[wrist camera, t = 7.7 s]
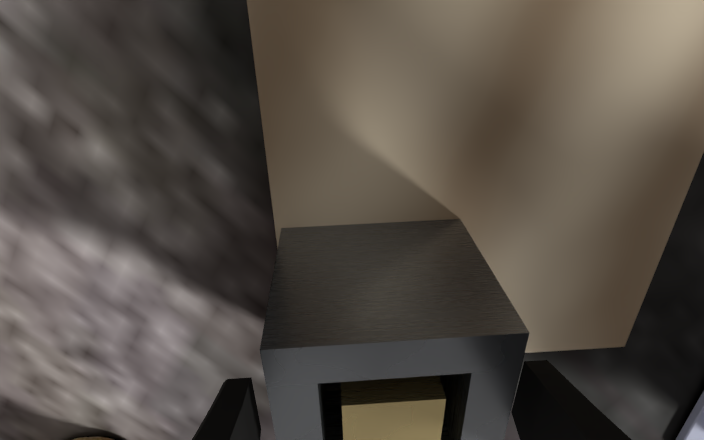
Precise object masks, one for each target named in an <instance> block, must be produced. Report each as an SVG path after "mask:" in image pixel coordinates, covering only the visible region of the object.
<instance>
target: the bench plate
mask: <svg viewBox="0 0 704 440" xmlns="http://www.w3.org/2000/svg"><path fill="white" fill-rule="evenodd" d="M247 7H248V15H249V23H250V31H251V39H252V47H253V55H254V63H255V71H256V79H257V87H258V95H259V103H260V112H261V120H262V128H263V136H264V144H265V152H266V160H267V168H268V176H269V184H270V192H271V200H272V208H273V216H274V224H275V232H276V240H277V248H278V244H279V238H280V232H281V228H293V227H312V226H331V225H350V224H369V223H389V222H408V221H427V220H446V219H461V221H462V222H463V224H464V226H465V227H466V229H467V231H468V232H469V234H470V236H471V237H472V239H473V241H474V242H475V244H476V246H477V247H478V249H479V250H480V252H481V254H482V255H483V257H484V259H485V260H486V262H487V264H488V265H489V267H490V269H491V270H492V272H493V273H494V275H495V277H496V278H497V280H498V282H499V283H500V285H501V287H502V288H503V290H504V292H505V293H506V295H507V296H508V298H509V300H510V301H511V303H512V305H513V306H514V308H515V310H516V311H517V313H518V315H519V316H520V318H521V319H522V321H523V323H524V324H525V326H526V328H527V329H528V331H529V337H528V341H527V345H526V350H525V353H532V352H548V351H564V350H581V349H597V348H613V347H625V344H626V342H627V339H628V337H629V334H630V332H631V329H632V327H633V325H634V322H635V320H636V317H637V315H638V312H639V310H640V307H641V305H642V302H643V300H644V298H645V295H646V293H647V290H648V288H649V285H650V283H651V280H652V278H653V275H654V273H655V271H656V268H657V266H658V263H659V261H660V258H661V256H662V253H663V251H664V248H665V246H666V244H667V241H668V239H669V236H670V234H671V231H672V229H673V226H674V224H675V221H676V219H677V217H678V214H679V212H680V209H681V207H682V204H683V202H684V199H685V197H686V194H687V192H688V189H689V187H690V185H691V182H692V180H693V177H694V175H695V172H696V170H697V167H698V165H699V162H700V160H701V158H702V155H703V153H704V0H247Z"/></svg>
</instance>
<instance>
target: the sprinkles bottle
mask: <svg viewBox="0 0 704 440" xmlns="http://www.w3.org/2000/svg"><path fill="white" fill-rule="evenodd" d="M72 440H113V439H110V438H106V437H81V438H75V439H72Z"/></svg>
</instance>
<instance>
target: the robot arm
mask: <svg viewBox="0 0 704 440" xmlns="http://www.w3.org/2000/svg"><path fill="white" fill-rule="evenodd" d="M512 415H513V418H514V422H515V425H516V428H517V431H518V434H519V437H520V440H631V439H630V438H629V437H628V436H627V435H626V434H625V433H623V432H622V431H621V430H620V429H619V428H618V427H617V426H616V425H615V424H614V423H612V422H611V421H610V420H609V419H608V418H607V417H606V416H605V415H604V414H603V413H602V412H601V411H600V410H598V409H597V408H596V407H595V406H594V405H593V404H592V403H591V402H590V401H589V400H588V399H587V398H586V397H585V396H584V395H583V394H582V393H581V392H580V391H578V390H577V389H576V388H575V387H574V386H573V385H572V384H571V383H570V382H569V381H568V380H567V379H566V378H565V377H564V376H563V375H562V374H561V373H560V372H559V371H558V370H557V369H556V368H555V367H554V366H552V365H551V364H550V363H549V362H548V361H547V360H542V361H525V362H524V365H523V369H522V373H521V377H520V381H519V385H518V389H517V393H516V397H515V401H514V405H513V408H512ZM260 434H261V426H260V421H259V416H258V411H257V405H256V400H255V395H254V390H253V385H252V380H251V378H239V379H227V380H226V381H225V382H224V383H223V385H222V387H221V389H220V391H219V393H218V395H217V397H216V398H215V400H214V402H213V404H212V406H211V408H210V410H209V411H208V413H207V415H206V417H205V418H204V420H203V422H202V424H201V425H200V427H199V429H198V430H197V432H196V434H195V436H194V437H193V439H192V440H260ZM675 440H704V391H703V392H702V394H701V396H700V398H699V399H698V401H697V403H696V405H695V406H694V408H693V410H692V412H691V413H690V415H689V417H688V419H687V420H686V422H685V424H684V426H683V427H682V429H681V431H680V433H679V434H678V436H677V438H676V439H675Z"/></svg>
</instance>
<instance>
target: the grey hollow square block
mask: <svg viewBox="0 0 704 440" xmlns="http://www.w3.org/2000/svg"><path fill="white" fill-rule="evenodd" d="M528 337H529V331H528V329H527V328H526V326H525V324H524V323H523V321H522V319H521V318H520V316H519V315H518V313H517V311H516V310H515V308H514V306H513V305H512V303H511V301H510V300H509V298H508V296H507V295H506V293H505V292H504V290H503V288H502V287H501V285H500V283H499V282H498V280H497V278H496V277H495V275H494V273H493V272H492V270H491V269H490V267H489V265H488V264H487V262H486V260H485V259H484V257H483V255H482V254H481V252H480V250H479V249H478V247H477V246H476V244H475V242H474V241H473V239H472V237H471V236H470V234H469V232H468V231H467V229H466V227H465V226H464V224H463V222H462V221H461V219H446V220H427V221H408V222H389V223H369V224H350V225H331V226H312V227H293V228H281V232H280V238H279V244H278V250H277V255H276V261H275V267H274V272H273V278H272V284H271V289H270V295H269V301H268V307H267V312H266V318H265V324H264V329H263V335H262V341H261V347H260V354H261V359H262V365H263V370H264V376H265V381H266V387H267V392H268V398H269V403H270V409H271V414H272V420H273V425H274V431H275V436H276V440H343V423H342V402H341V382H348V381H363V380H377V379H392V378H407V377H421V376H436V375H439V377H440V380H441V384H442V387H443V390H444V393H445V397H446V404H445V411H444V419H443V426H442V433H441V440H504V436H505V432H506V428H507V424H508V420H509V415H510V411H511V407H512V403H513V399H514V395H515V391H516V387H517V382H518V378H519V374H520V370H521V366H522V362H523V358H524V354H525V350H526V345H527V341H528Z"/></svg>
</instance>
